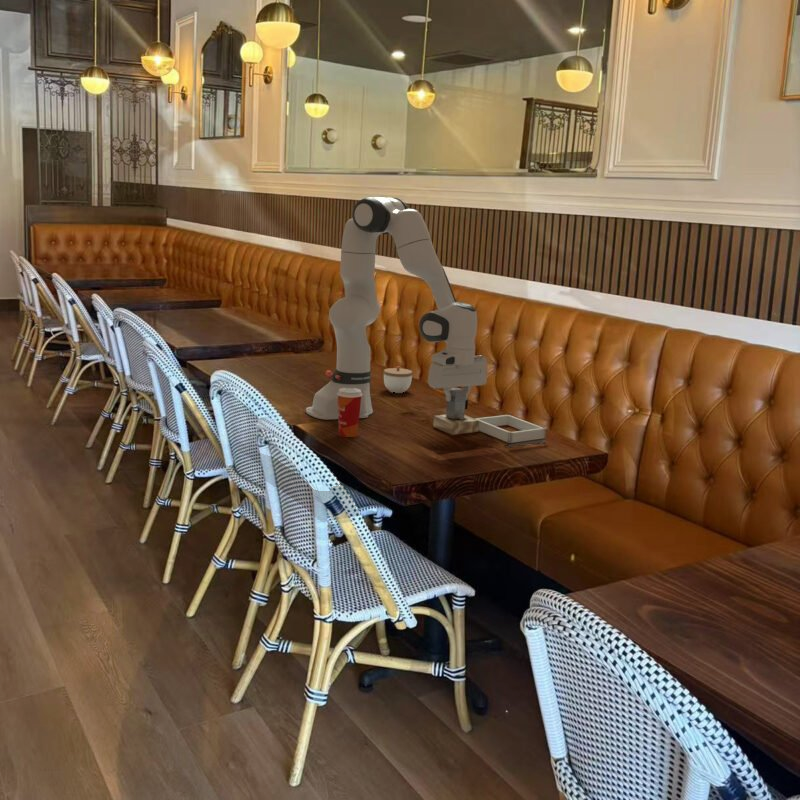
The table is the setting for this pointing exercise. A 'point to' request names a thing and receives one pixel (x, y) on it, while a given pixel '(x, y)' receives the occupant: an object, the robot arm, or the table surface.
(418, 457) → the table surface
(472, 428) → the socket block
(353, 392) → the paper cup
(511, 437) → the grey tray
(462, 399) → the pin
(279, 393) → the table surface
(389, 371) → the lidded jar
